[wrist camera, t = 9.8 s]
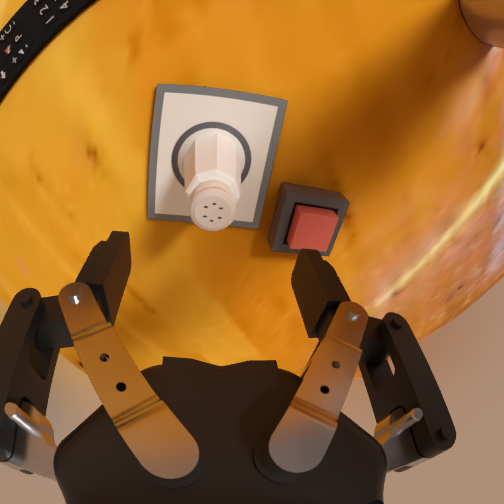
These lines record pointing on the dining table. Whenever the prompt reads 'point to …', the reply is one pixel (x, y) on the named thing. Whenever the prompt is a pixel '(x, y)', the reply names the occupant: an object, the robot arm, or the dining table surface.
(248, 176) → the board
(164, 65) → the dining table surface
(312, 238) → the button
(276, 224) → the button housing
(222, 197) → the salt shaker
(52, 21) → the remote control
